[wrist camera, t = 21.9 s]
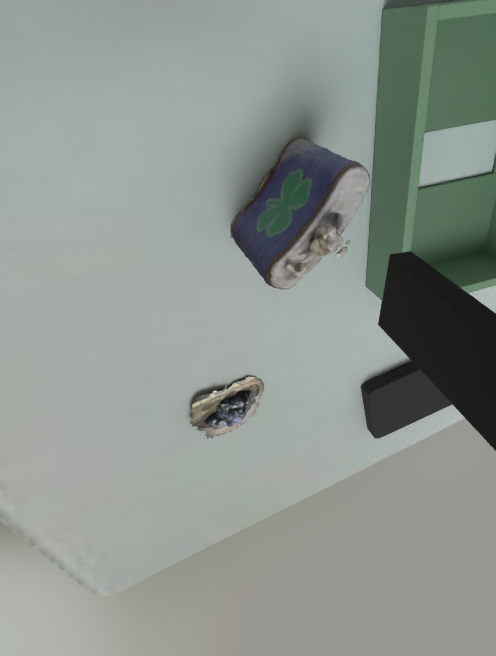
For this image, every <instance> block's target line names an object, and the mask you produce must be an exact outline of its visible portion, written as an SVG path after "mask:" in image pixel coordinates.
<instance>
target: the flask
mask: <svg viewBox="0 0 496 656" xmlns="http://www.w3.org/2000/svg"><path fill="white" fill-rule="evenodd" d="M369 185H370V176H369V173H368V171H367V170H366V168H364V167H363V166H362V165H361V164H360V163H358V162H356V161H352V160H348V159H346V158H343V157H341V156H340V155H337V154H334V153H332V152H331V151H329V150H328V149H326V148H323V147H320V146H318V145H316V144H314V143H312V142H310V141H308V140H306V139H299V138H297V139H295V140H293V141H292V142H291V143H290V144H288V145H287V146H286V147H285V149H284V150H283V151H281V152H280V154H279V159H278V162H277V163H276V164H275V165H274V167H273V168H272V169H271V171H270V172H268V173H267V174H266V176H265V177H263V179H262V181H261V183H260V185H259V187H260V188H259V189H258V193H257V195H255V196H254V197H250V202H249V205H248V206H247V207H246V208H245V209H243V210H241V213H240V214H239V216H237V217H236V219H235V220H234V222H232V224H231V233H232V235H231V237H233V238H234V240H235V242H236V244H237V245H238V247H239V248H240V249H241V250H242V252H243V253H244V254H245V256H246V257H247V258H248V259H249V260H250V261H251V263H252V264H253V266H254V267H255V268H256V269H257V271H258V272H259V274H260V275H261V276H262V277H263V278H264V280H265V281H266V283H267V284H268V285H269V286H272V287H274V288H278V289H289V288H290V287H292V286H294V285H295V284H296V283H297V282H299V281H300V279H301V278H302V277H303V276H304V275H305V274H306V273H308V272H309V271H310V270H311V269H312V268H313V267H314V266H315V265H316V264H317V263H318V262H319V261H320V260H321V259H322V258H323V257H324V256H325V255H328V253H329V252H330V253H332V252H334V251H336V250H337V247H340V246H341V244H342V242H343V238H342V237H341V233H342V232H343V231H344V229H345V227H346V226H347V225H348V224H349V222H350V220H351V219H352V217H353V215H354V213H355V212H356V210H357V209H358V207H359V205H360V204H361V202H362V200H363V198H364V196H365V194H366V193H367V191H368V188H369ZM346 244H347V245H349V244H350V241H349V240H348V241H347V242H346ZM346 252H347V247H344V248H341V250H340V251H339V252H338V253H336V254H335V257H336V258H339V257H341V256H343V255H344V254H345V253H346Z"/></svg>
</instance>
